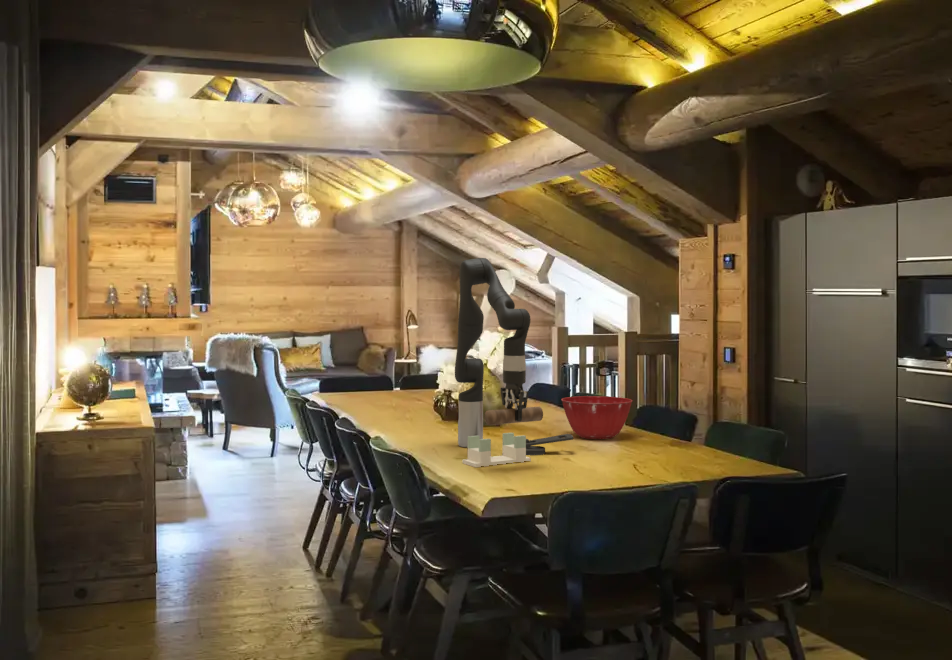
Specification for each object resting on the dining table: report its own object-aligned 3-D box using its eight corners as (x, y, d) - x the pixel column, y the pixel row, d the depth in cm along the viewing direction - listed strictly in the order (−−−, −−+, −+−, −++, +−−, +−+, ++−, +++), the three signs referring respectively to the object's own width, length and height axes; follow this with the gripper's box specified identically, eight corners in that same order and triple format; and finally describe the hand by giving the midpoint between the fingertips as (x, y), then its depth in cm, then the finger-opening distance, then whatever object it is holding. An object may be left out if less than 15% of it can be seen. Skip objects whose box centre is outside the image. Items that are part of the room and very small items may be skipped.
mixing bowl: (561, 431, 388) (561, 394, 387) (629, 432, 385) (630, 395, 385) (561, 442, 360) (561, 402, 359) (634, 443, 357) (635, 403, 356)
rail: (492, 425, 299) (491, 411, 299) (484, 424, 303) (484, 409, 303) (543, 421, 309) (543, 407, 309) (535, 419, 313) (535, 405, 313)
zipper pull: (575, 436, 331) (506, 438, 328) (575, 455, 331) (506, 456, 328) (570, 433, 340) (502, 434, 337) (569, 451, 340) (502, 452, 337)
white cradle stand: (475, 467, 307) (475, 440, 307) (462, 463, 315) (462, 436, 314) (530, 461, 318) (530, 435, 318) (516, 457, 326) (516, 432, 325)
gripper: (493, 367, 310) (493, 418, 311) (516, 371, 297) (516, 423, 298) (512, 366, 314) (512, 416, 314) (535, 370, 301) (535, 422, 302)
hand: (514, 419), depth 306 cm, fingers closed on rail, 4 cm apart
